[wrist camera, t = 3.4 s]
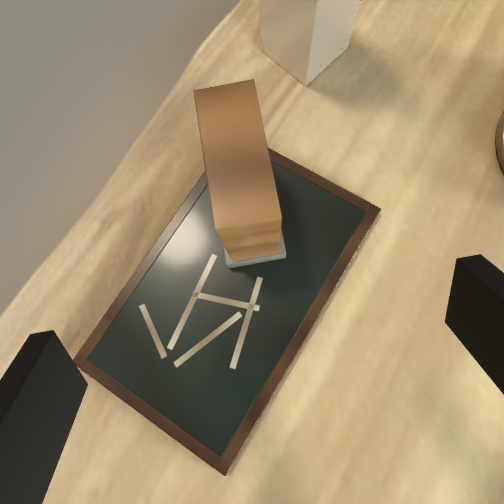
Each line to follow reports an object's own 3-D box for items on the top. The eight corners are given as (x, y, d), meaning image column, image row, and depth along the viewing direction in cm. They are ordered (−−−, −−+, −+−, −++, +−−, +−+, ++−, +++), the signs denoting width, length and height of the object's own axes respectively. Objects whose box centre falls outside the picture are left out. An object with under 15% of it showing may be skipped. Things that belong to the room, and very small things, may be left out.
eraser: (212, 167, 33) (183, 89, 22) (265, 157, 33) (262, 74, 22) (228, 268, 31) (204, 235, 20) (285, 258, 31) (293, 219, 20)
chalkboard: (235, 134, 35) (234, 129, 34) (378, 212, 32) (381, 208, 31) (77, 361, 31) (70, 362, 30) (226, 472, 28) (225, 477, 27)
